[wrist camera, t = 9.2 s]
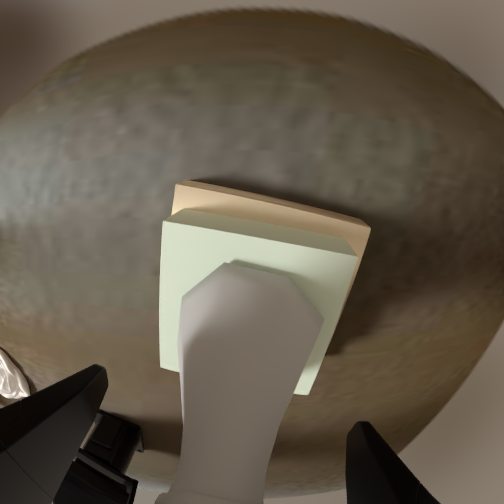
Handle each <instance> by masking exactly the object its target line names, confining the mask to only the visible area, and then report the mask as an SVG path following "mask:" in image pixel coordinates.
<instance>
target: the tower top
mask: <svg viewBox="0 0 504 504" xmlns="http://www.w3.org/2000/svg"><path fill="white" fill-rule="evenodd" d="M357 259H358V256H357V254H356V253H355V252H354V250H353V249H352V248H351V246H350V245H349V244H348V242H347V241H346V239H345V238H342V237H337V236H332V235H327V234H322V233H317V232H312V231H307V230H302V229H297V228H292V227H287V226H281V225H276V224H271V223H265V222H260V221H254V220H249V219H243V218H237V217H232V216H226V215H220V214H214V213H208V212H202V211H196V210H190V209H184V208H183V209H181V210H180V211H178V212H177V213H175V214H173V215H172V216H170V217H168V218H167V219H165V220H164V221H163V229H162V244H161V264H160V300H159V334H160V367H162V368H165V369H169V370H173V371H176V372H179V361H178V330H179V320H180V310H181V301H182V296H183V295H184V294H186V293H187V292H188V291H189V290H191V289H192V288H193V287H194V286H196V285H197V284H198V283H199V282H200V281H202V280H203V279H204V278H205V277H207V276H208V275H209V274H210V273H212V272H213V271H214V270H215V269H217V268H218V267H219V266H220V265H222V264H223V263H224V262H226V263H230V264H235V265H239V266H243V267H247V268H251V269H256V270H260V271H264V272H268V273H273V274H277V275H281V276H286V277H288V278H289V279H290V280H291V281H292V282H293V283H294V284H295V286H296V287H297V288H298V289H299V290H300V291H301V292H302V294H303V295H304V296H305V297H306V298H307V299H308V301H309V302H310V303H311V304H312V305H313V306H314V307H315V309H316V310H317V311H318V312H319V313H320V314H321V316H322V317H323V318H324V322H323V324H322V327H321V330H320V333H319V335H318V337H317V340H316V342H315V344H314V347H313V349H312V351H311V354H310V356H309V358H308V360H307V363H306V365H305V367H304V369H303V372H302V374H301V377H300V379H299V381H298V384H297V386H296V389H295V391H294V393H293V394H301V395H308V394H309V391H310V389H311V387H312V385H313V382H314V380H315V377H316V375H317V373H318V370H319V368H320V365H321V363H322V360H323V358H324V355H325V353H326V350H327V348H328V345H329V343H330V340H331V337H332V335H333V332H334V329H335V326H336V324H337V321H338V318H339V315H340V312H341V309H342V306H343V304H344V301H345V298H346V295H347V291H348V288H349V285H350V282H351V279H352V276H353V272H354V269H355V266H356V263H357Z"/></svg>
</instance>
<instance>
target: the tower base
mask: <svg viewBox="0 0 504 504" xmlns="http://www.w3.org/2000/svg"><path fill="white" fill-rule="evenodd" d="M183 208H184V209H190V210H196V211H202V212H208V213H214V214H220V215H226V216H232V217H237V218H243V219H249V220H254V221H260V222H265V223H271V224H276V225H281V226H287V227H292V228H297V229H302V230H307V231H312V232H317V233H322V234H327V235H332V236H337V237H342V238H345V239H346V241H347V242H348V244H349V245H350V246H351V248H352V249H353V250H354V252H355V253H356V254H357V256H358V259H357V263H356V266H355V269H354V272H353V276H352V279H351V282H350V285H349V288H348V291H347V295H346V298H345V301H344V304H343V306H342V309H341V312H340V315H339V318H338V321H339V319H340V316H341V314H342V311H343V309H344V306H345V303H346V301H347V298H348V296H349V293H350V290H351V287H352V285H353V282H354V279H355V276H356V274H357V271H358V268H359V265H360V262H361V259H362V256H363V253H364V250H365V247H366V244H367V241H368V237H369V234H370V231H371V228H370V227H369V226H368V225H367V224H366V223H364V222H363V221H362V220H361V219H358V218H355V217H351V216H347V215H344V214H340V213H336V212H332V211H328V210H324V209H320V208H316V207H312V206H308V205H304V204H300V203H296V202H292V201H287V200H283V199H279V198H274V197H270V196H265V195H261V194H256V193H251V192H247V191H242V190H237V189H232V188H227V187H222V186H217V185H212V184H207V183H201V182H196V181H190V180H187V181H184V182H181V183H178V184H176V188H175V194H174V201H173V209H172V215H173V214H175V213H177V212H178V211H180V210H181V209H183ZM338 321H337V324H338ZM337 324H336V326H337ZM336 326H335V329H336ZM335 329H334V331H335ZM333 333H334V332H333ZM332 336H333V335H332ZM331 338H332V337H331Z"/></svg>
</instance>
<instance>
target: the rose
mask: <svg viewBox="0 0 504 504" xmlns="http://www.w3.org/2000/svg"><path fill="white" fill-rule="evenodd" d="M0 394H1V395H3V396H5V397H6V398H21V397H22V396H24V397H28V396H30V390H29V385H28V383H27V381H26V379H25V377H24V376H23V374H22V373H21V371H20V370H19V369H18V368H17V367H16V366H15V365H14V364H13V362H12V361H11V360H10V359H9V357H8V356H7V355H6V354H5V353H4V352H3V351H2V350H1V349H0Z"/></svg>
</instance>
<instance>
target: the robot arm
mask: <svg viewBox="0 0 504 504" xmlns="http://www.w3.org/2000/svg"><path fill="white" fill-rule="evenodd" d="M107 388H108V378H107V372H106V369H105V368H104V367H102V366H100V365H98V364H94V365H92V366H90V367H88V368H86V369H84V370H81V371H79V372H77V373H75V374H73V375H71V376H69V377H67V378H65V379H63V380H61V381H59V382H57V383H55V384H53V385H51V386H49V387H47V388H45V389H43V390H40V391H38V392H36V393H34V394H32V395H30V396H28V397H26V398H24V399H22V400H21V401H20V400H19V401H17V402H15V403H13V404H10V405H8V406H6V407H3V408H0V504H133V502H134V498H135V494H136V489H137V485H138V481H137V480H135V479H132V478H130V477H128V476H126V475H125V473H126V471H127V468H128V466H129V464H130V462H131V459H132V457H133V455H134V452H135V451H138V452H141V453H143V452H144V446H143V440H142V434H141V429H140V427H138V426H136V425H133V424H131V423H128V422H125V421H123V420H120V419H118V418H115V417H113V416H111V415H108V414H106V413H103V412H101V411H99V408H100V405H101V403H102V400H103V398H104V395H105V393H106V391H107ZM94 421H95V424H96V425H95V427H94V429H93V431H92V432H91V434H90V436H89V437H88V439H87V441H86V443H85V444H84V446H83V448H82V449H81V448H80V446H81V444H82V442H83V440H84V438H85V437H86V435H87V433H88V431H89V429H90V427H91V426H92V424H93V422H94ZM73 459H74V460H75V461H73ZM345 473H346V490H347V504H441V503H439V502H438V501H437V500H436V499H435V498H434V497H433V496H432V495H431V494H430V493H429V491H428V490H427V489H426V488H425V487H424V486H423V485H422V484H421V483H420V481H419V480H418V479H417V478H416V477H415V476H414V474H413V473H412V472H411V471H410V470H409V469H408V467H407V466H406V465H405V464H404V463H403V462H402V460H401V459H400V458H399V457H398V456H397V455H396V453H395V452H394V451H393V450H392V449H391V447H390V446H389V445H388V444H387V443H386V442H385V440H384V439H383V438H382V437H381V436H380V434H379V433H378V432H377V431H376V430H375V429H374V427H373V426H372V425H371V424H370V423H369V422H368V421H358V422H356V424H355V425H354V426H353V428H352V429H351V430H350V432H349V433H348V435H347V446H346V471H345Z"/></svg>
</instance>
